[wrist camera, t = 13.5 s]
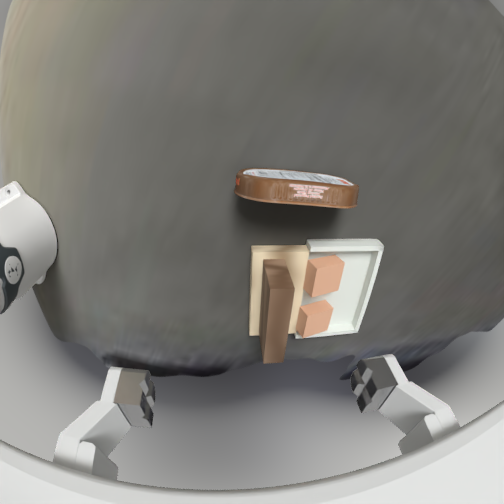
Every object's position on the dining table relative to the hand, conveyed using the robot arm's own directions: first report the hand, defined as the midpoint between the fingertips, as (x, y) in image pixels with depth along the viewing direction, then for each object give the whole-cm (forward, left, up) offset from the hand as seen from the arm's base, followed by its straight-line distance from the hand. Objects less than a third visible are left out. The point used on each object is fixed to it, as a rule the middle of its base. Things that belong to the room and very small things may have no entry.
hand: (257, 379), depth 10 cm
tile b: (+13, -22, -28) cm, 38 cm away
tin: (+8, 0, -30) cm, 31 cm away
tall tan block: (+6, -18, -27) cm, 33 cm away
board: (+7, -18, -29) cm, 35 cm away
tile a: (+13, -14, -28) cm, 34 cm away
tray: (+17, -18, -29) cm, 38 cm away
